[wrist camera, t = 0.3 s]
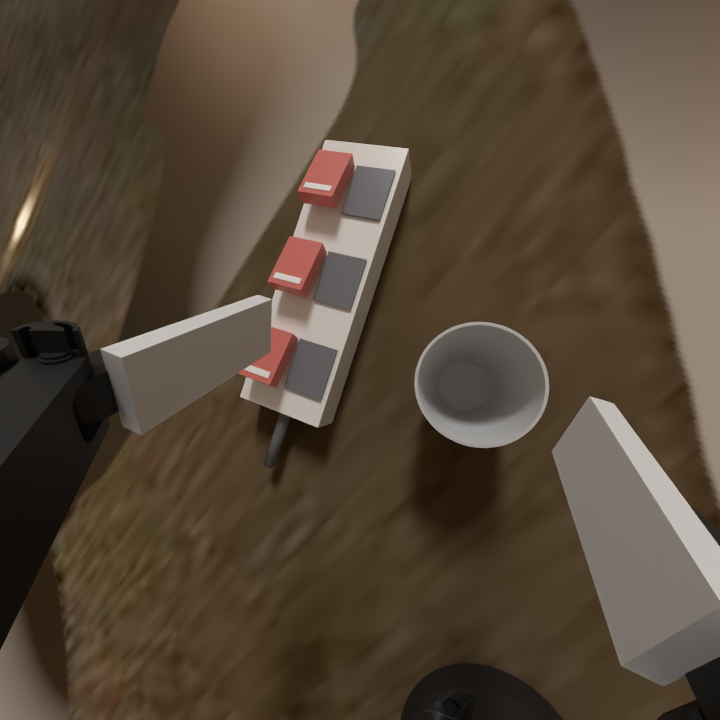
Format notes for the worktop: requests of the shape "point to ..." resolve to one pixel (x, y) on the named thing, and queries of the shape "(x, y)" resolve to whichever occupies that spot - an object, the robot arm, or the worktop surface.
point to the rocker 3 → (326, 178)
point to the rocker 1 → (273, 359)
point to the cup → (481, 384)
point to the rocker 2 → (297, 266)
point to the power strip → (335, 289)
